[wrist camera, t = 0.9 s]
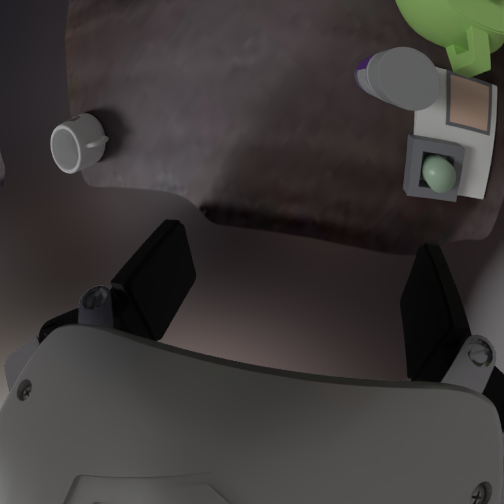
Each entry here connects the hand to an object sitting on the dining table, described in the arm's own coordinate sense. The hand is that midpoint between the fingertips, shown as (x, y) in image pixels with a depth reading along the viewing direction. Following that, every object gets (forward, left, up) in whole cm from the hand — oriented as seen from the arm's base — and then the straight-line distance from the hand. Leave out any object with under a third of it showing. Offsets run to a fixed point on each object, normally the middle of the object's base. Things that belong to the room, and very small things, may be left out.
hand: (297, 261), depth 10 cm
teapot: (-19, +16, -25) cm, 35 cm away
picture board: (-1, +18, -25) cm, 31 cm away
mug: (-3, -36, -25) cm, 45 cm away
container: (-7, +7, -25) cm, 27 cm away
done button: (+3, +14, -23) cm, 27 cm away
